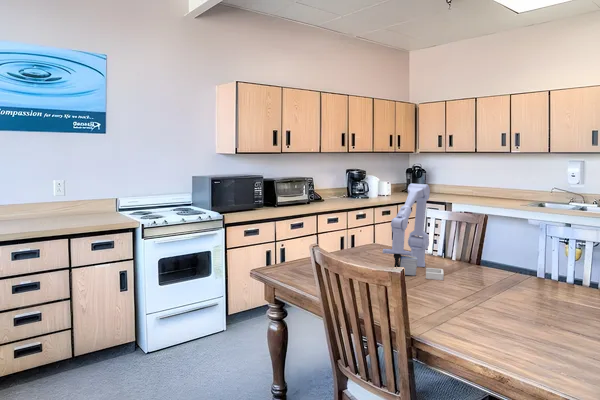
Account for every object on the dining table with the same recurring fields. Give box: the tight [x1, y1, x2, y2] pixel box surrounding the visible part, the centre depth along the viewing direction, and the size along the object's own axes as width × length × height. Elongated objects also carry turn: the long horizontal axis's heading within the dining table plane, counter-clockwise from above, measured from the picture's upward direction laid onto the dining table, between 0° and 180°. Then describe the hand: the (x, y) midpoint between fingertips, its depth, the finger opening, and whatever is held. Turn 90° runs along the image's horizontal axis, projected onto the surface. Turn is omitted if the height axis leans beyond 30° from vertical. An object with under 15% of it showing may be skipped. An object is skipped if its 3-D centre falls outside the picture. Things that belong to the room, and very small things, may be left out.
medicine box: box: [399, 255, 418, 276], centre depth 207 cm, size 8×4×9 cm, turn 89°
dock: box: [425, 267, 445, 281], centre depth 204 cm, size 9×8×3 cm
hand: (396, 268), depth 209 cm, fingers closed, pressing on medicine box
